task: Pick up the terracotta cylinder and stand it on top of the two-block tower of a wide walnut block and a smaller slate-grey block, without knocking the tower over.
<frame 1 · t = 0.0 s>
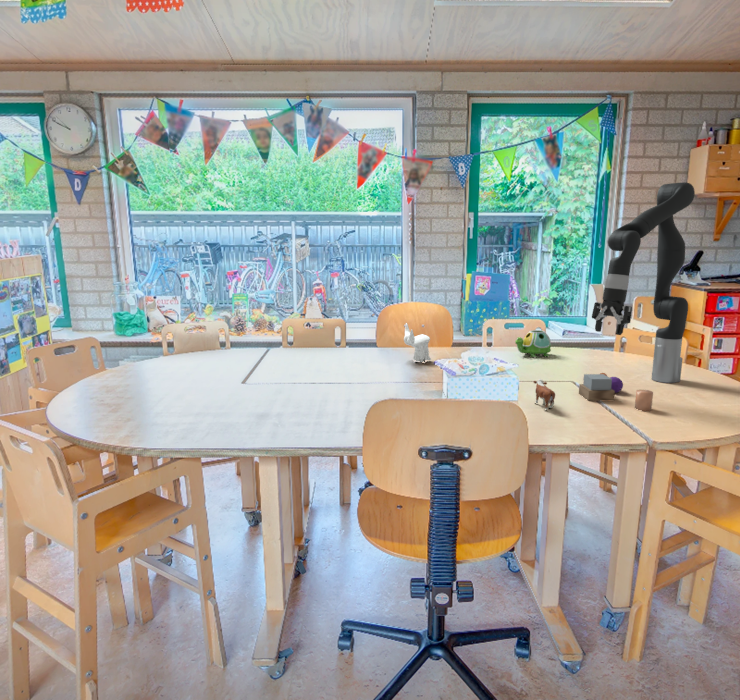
hand: (608, 333, 195), 22 cm above the table, tool pointing down, fingers open, 8 cm apart
bottom block: (595, 398, 195), on the table, touching top block
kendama: (608, 388, 208), on the table
turtle holder: (533, 355, 264), on the table
top block: (596, 387, 194), point 4 cm above the table, touching bottom block
terracotta cylinder: (643, 409, 181), on the table
toy animal: (417, 361, 254), on the table
bull figurine: (543, 406, 185), on the table
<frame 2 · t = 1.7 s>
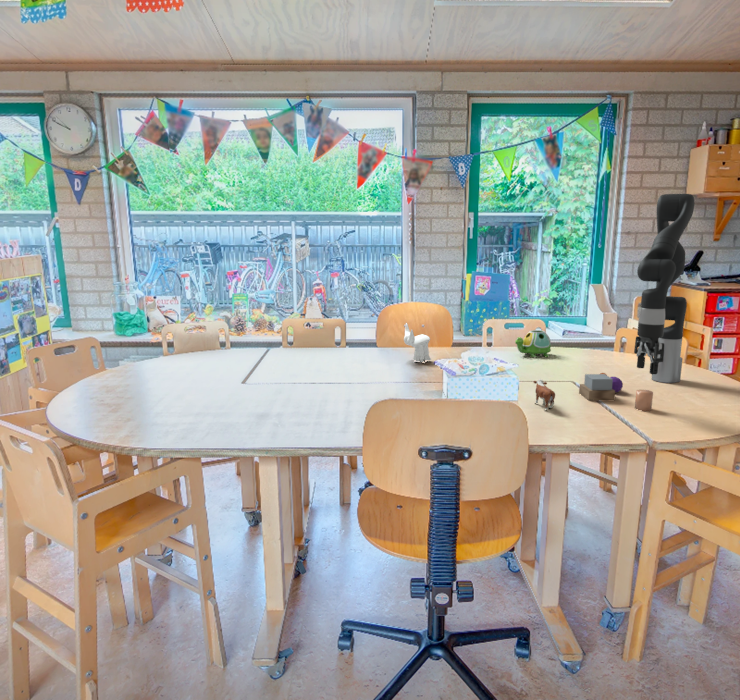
hand: (646, 370, 178), 13 cm above the table, tool pointing down, fingers open, 8 cm apart
nothing on the table moved.
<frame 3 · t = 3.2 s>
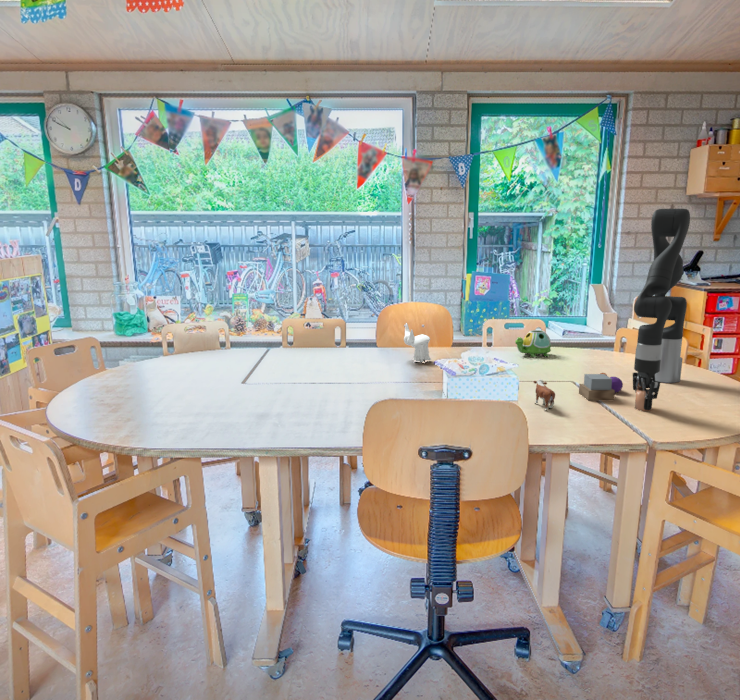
hand: (643, 406, 181), 1 cm above the table, tool pointing down, fingers closed on terracotta cylinder, 5 cm apart
terracotta cylinder: (643, 408, 181), on the table, touching gripper
everything else where it was.
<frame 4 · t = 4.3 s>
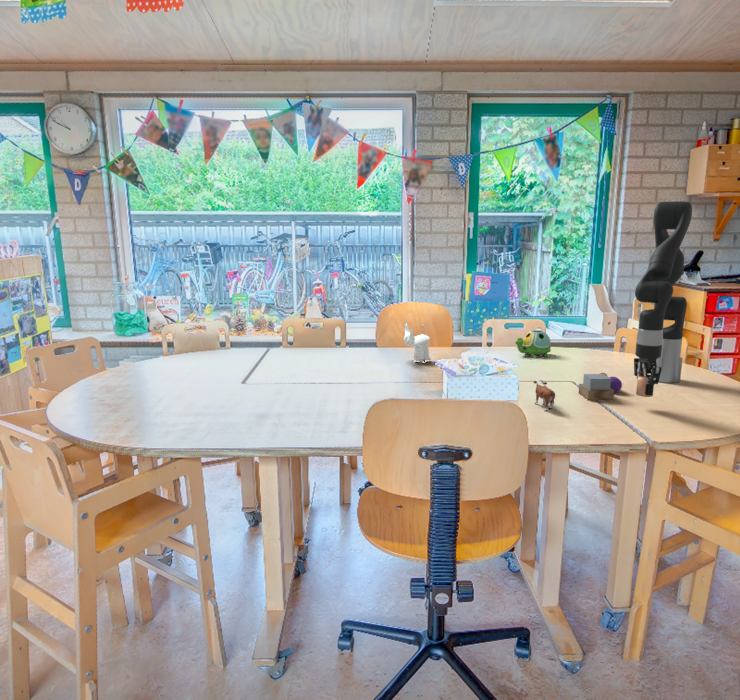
hand: (644, 392, 180), 6 cm above the table, tool pointing down, fingers closed on terracotta cylinder, 5 cm apart
terracotta cylinder: (644, 394, 181), point 5 cm above the table, touching gripper
everything else where it was.
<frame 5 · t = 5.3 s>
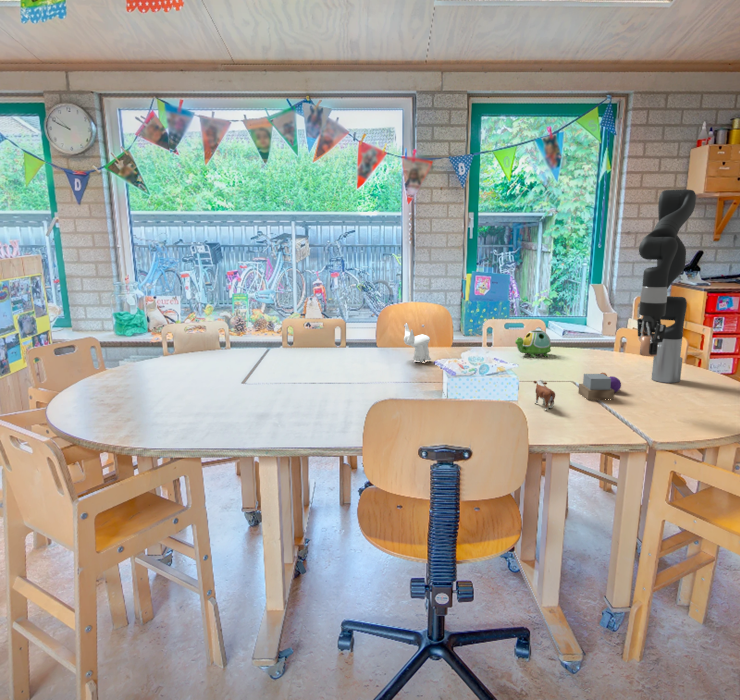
hand: (648, 352, 177), 19 cm above the table, tool pointing down, fingers closed on terracotta cylinder, 5 cm apart
bottom block: (595, 397, 196), on the table
top block: (596, 387, 195), point 4 cm above the table
terracotta cylinder: (648, 354, 177), point 18 cm above the table, touching gripper
everything else where it was.
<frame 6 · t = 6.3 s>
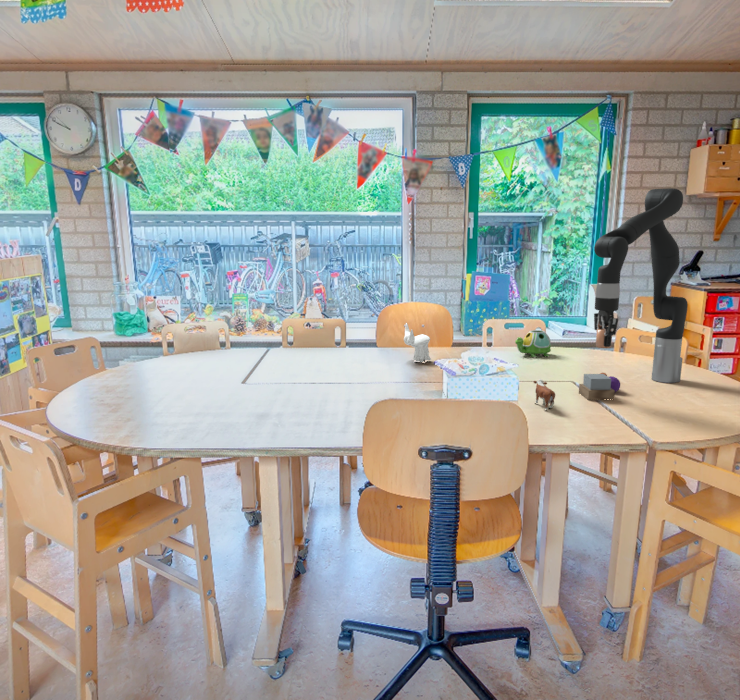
hand: (603, 344, 190), 19 cm above the table, tool pointing down, fingers closed on terracotta cylinder, 5 cm apart
bottom block: (595, 397, 196), on the table, touching top block
top block: (596, 387, 195), point 4 cm above the table, touching bottom block
terracotta cylinder: (603, 346, 190), point 19 cm above the table, touching gripper
everything else where it was.
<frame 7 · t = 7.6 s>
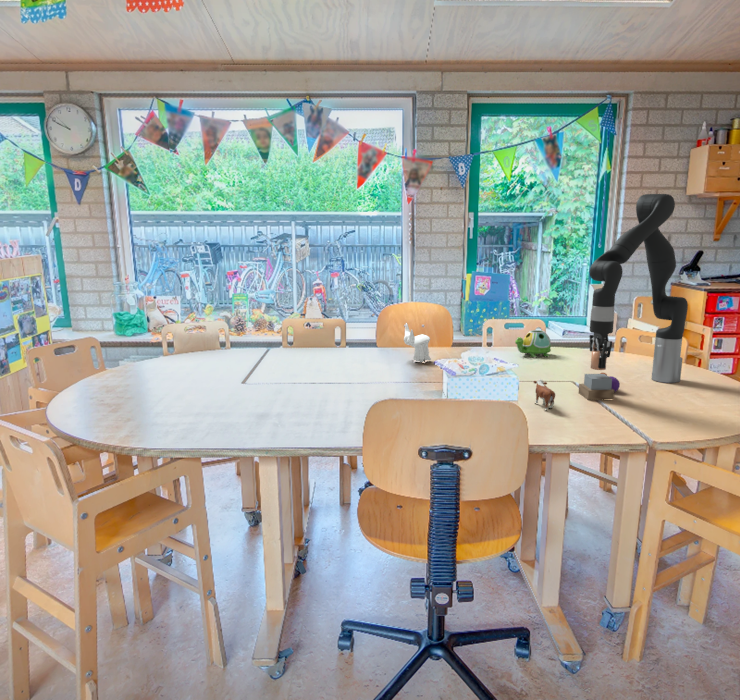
hand: (598, 366, 193), 11 cm above the table, tool pointing down, fingers closed on terracotta cylinder, 5 cm apart
terracotta cylinder: (598, 368, 193), point 11 cm above the table, touching gripper
everything else where it was.
when the fingers open (10 cm above the table, at t = 8.2 s): terracotta cylinder drops 2 cm, resting on top block.
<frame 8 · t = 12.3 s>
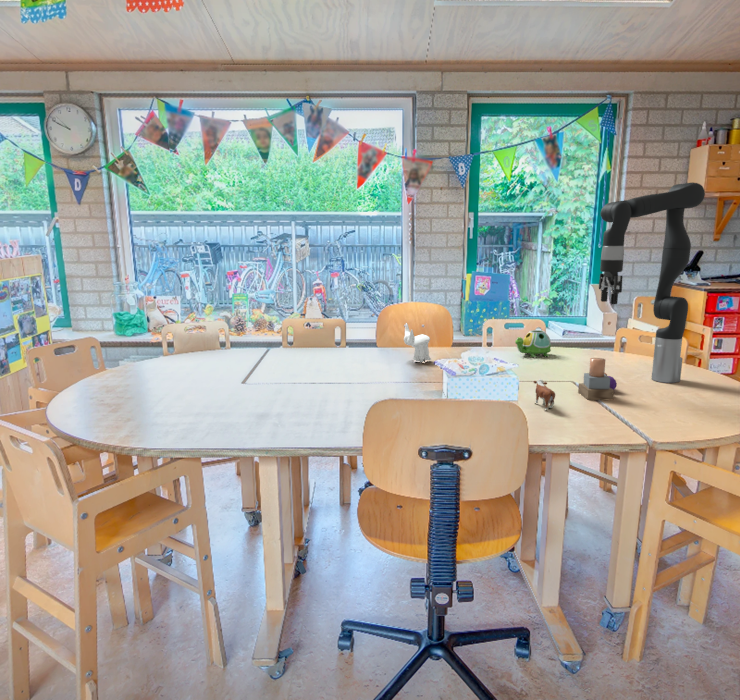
hand: (608, 302, 202), 32 cm above the table, tool pointing down, fingers open, 8 cm apart
top block: (596, 386, 195), point 4 cm above the table, touching bottom block, terracotta cylinder
terracotta cylinder: (596, 375, 195), point 8 cm above the table, touching top block
at the end: terracotta cylinder 0.2 cm off-centre on the top block, point 4.0 cm above the top block's base; top block 0.2 cm off-centre on the bottom block, point 4.0 cm above the bottom block's base; terracotta cylinder tilted 1° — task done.
